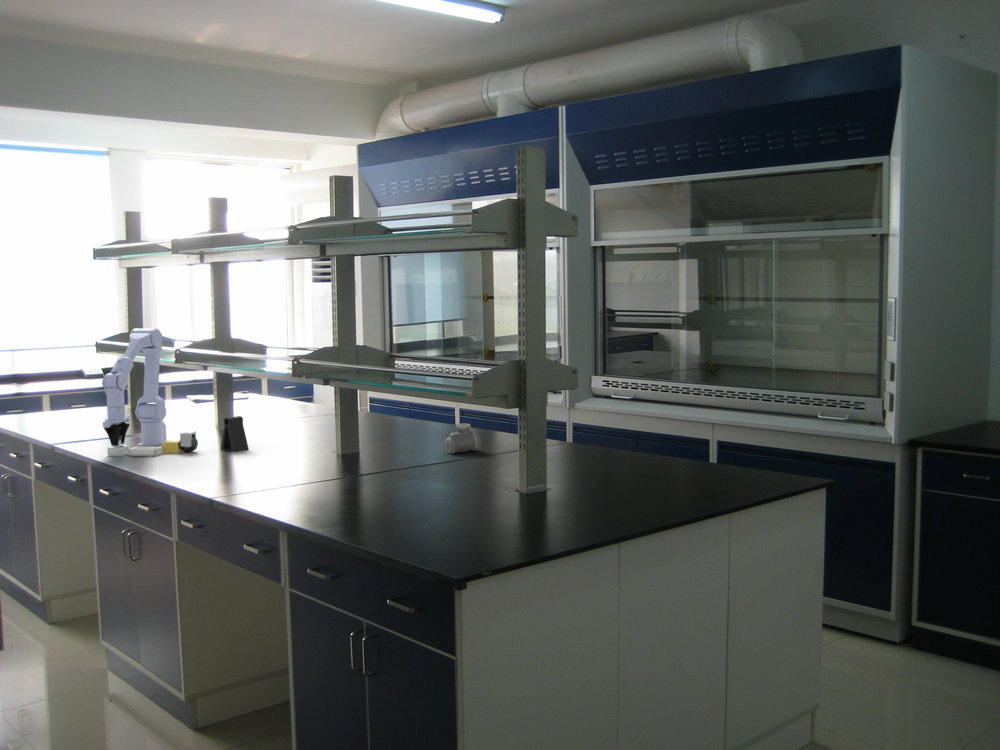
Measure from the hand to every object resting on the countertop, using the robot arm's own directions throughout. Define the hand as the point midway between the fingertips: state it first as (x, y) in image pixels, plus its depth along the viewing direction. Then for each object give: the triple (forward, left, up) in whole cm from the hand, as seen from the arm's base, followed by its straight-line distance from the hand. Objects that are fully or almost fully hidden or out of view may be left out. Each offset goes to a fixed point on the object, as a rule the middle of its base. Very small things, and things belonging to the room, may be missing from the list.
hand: (117, 444), depth 320 cm
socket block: (0, 0, -4) cm, 4 cm away
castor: (-7, +23, -4) cm, 24 cm away
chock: (-7, +17, -4) cm, 19 cm away
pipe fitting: (-14, +122, -4) cm, 122 cm away
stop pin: (0, 0, -4) cm, 4 cm away
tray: (-1, +10, -4) cm, 11 cm away
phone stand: (-13, +38, -4) cm, 40 cm away
